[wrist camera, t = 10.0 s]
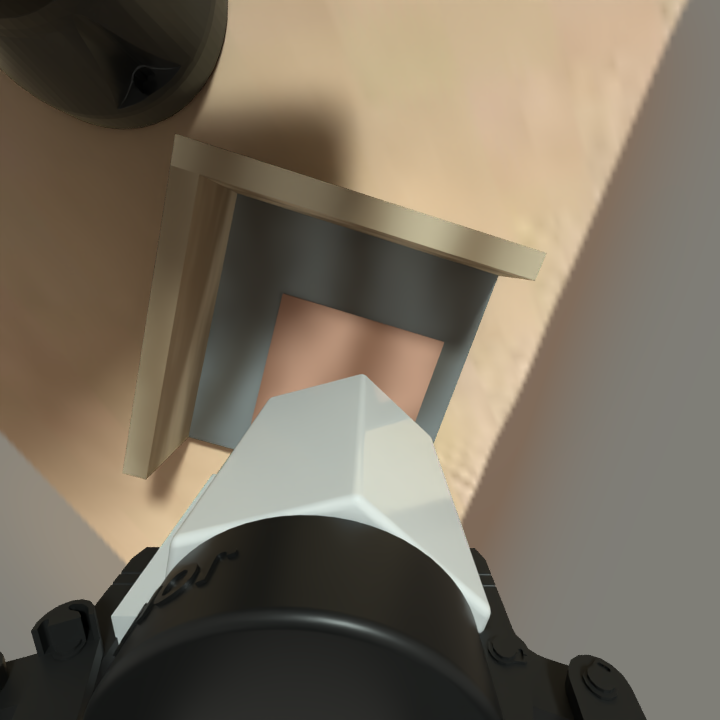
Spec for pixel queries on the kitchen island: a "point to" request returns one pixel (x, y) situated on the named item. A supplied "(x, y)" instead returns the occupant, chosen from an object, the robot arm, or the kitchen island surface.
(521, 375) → the kitchen island surface
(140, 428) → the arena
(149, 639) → the jar
